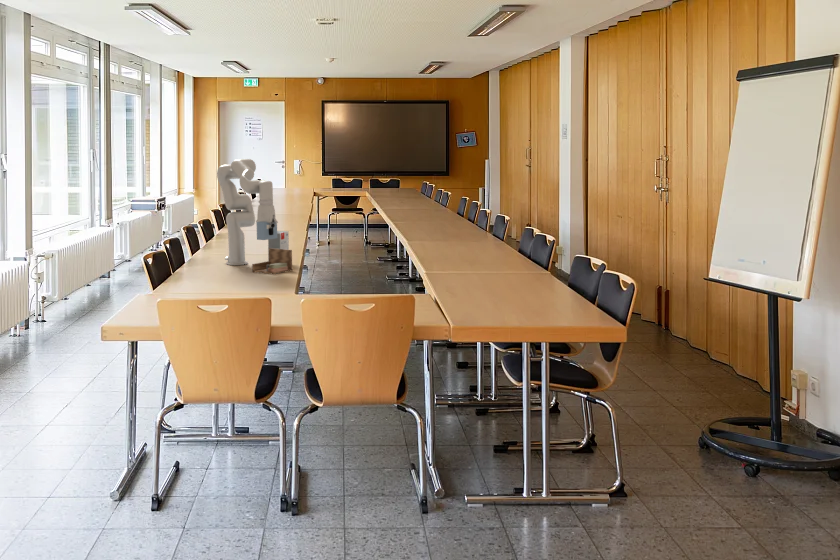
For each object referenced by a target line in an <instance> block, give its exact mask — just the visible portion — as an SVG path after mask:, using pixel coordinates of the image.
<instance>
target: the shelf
mask: <svg viewBox="0 0 840 560" xmlns="http://www.w3.org/2000/svg"><path fill="white" fill-rule="evenodd" d="M251 267H252V268H251V270H252V273H257V272H262V273H261V274H267V273H272V274H271V275H277V274H276V273H278V274H282V273H281V272H283V273H286V272H285V271H288V272H291V271H290V270H292V271H293V251H292V249H289V250H287V249H274V248H269V261H268V260H267V261H262V262H256V263H252V265H251Z"/></svg>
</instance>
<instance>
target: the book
mask: <svg viewBox="0 0 840 560" xmlns="http://www.w3.org/2000/svg"><path fill="white" fill-rule="evenodd" d="M255 222H256V221H255ZM255 224H256V240H258V241H266V240H267V241H268V239H275V238H277V231H278V223H277V224H276V225H275V226H274V228H273V235H269V228H270V227H269V223H267V222H256V223H255Z"/></svg>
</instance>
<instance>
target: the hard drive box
mask: <svg viewBox="0 0 840 560" xmlns="http://www.w3.org/2000/svg"><path fill="white" fill-rule="evenodd" d="M289 241H290V240H289V231H287V230H286V231H285V230H277V238H275V239H268V240H267V242H268V245H267V246H268V249H267V252H268V253H267V254H268V257H267V258H268V260H267V261H269V248H274V249H287V250H290V248H289V246H290V245H289Z"/></svg>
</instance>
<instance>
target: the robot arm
mask: <svg viewBox="0 0 840 560" xmlns="http://www.w3.org/2000/svg"><path fill="white" fill-rule="evenodd" d="M256 164H257V163H256V162H255V160H253V159H251V158H237V159H234V160H232V161H231V163H230V164H223V165H220V166H219V167H217V171H216V177H217V181H218V183H219V186H220V188H221V191H222V197H223V200H224V205H225V207H226V209H227V210H228V211H232V212H229V213H227V215H226V216H225V223H226V225H227V235H228V236H227V237H228V256H226V257H224V260H225V261H227V262H226V265H228V266H244V264H245V265H247V264H249V263H248V262H249V261H247V260H246V251H245V249H246V248H245V245H246V244H245V242H246V241H245V233H244V231H243V230H242V228H248V227H252V226H254V225H255V224H256V223H255V222H267V223H269V227H270V228H269V235H273V228H274V226H275V225H276V224H277V225H278V223H279V222H278V220H277V219H276V209H275V205H274V195H273V194H274V192H273V182H272V181H271V180H264V179H262V180H261V179H259V180H257V179H256V180H253V179H254V177H255V172H256V170H257V165H256ZM236 179H237V180H239V186H240V188H241V189H242V190H243V191H244V192H245V193H241V194H239V192H238V190H237V186H236V184H235V183H234V182H233V181H232V180H236ZM248 194H250V195H253V194H254V195H255V194H258V195H259V200H258V203H259V205H258V207H257V212H256V214H257V215H256V217H255V211H254V207H253V202H252V199H251V197H250V196H249V195H248Z"/></svg>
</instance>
